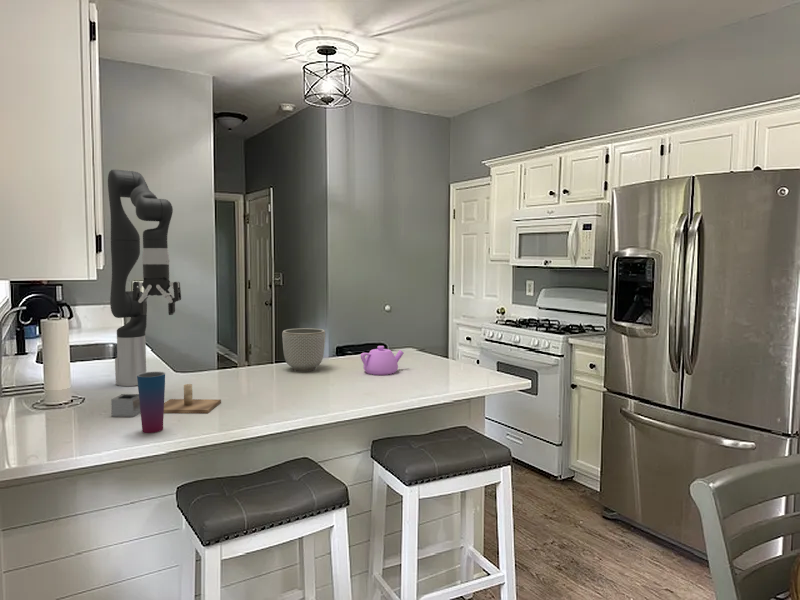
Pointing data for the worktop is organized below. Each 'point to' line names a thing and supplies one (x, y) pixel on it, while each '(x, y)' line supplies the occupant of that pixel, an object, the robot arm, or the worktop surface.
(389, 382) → the worktop surface
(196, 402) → the post board
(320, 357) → the planter
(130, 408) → the collar
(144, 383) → the cup
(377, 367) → the teapot
